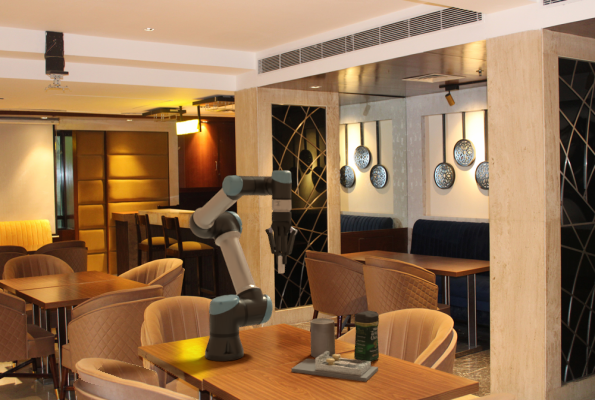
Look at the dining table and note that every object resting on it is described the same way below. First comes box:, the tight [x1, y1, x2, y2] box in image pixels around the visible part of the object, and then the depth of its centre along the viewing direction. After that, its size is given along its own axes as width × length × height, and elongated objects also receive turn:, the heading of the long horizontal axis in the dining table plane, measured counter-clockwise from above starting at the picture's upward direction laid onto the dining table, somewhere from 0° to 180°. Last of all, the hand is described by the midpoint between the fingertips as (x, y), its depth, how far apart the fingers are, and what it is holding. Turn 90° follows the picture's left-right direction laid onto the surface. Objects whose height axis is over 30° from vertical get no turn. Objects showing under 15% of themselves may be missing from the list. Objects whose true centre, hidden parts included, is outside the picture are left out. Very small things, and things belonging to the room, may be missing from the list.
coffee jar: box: [353, 310, 380, 362], centre depth 222 cm, size 10×8×19 cm
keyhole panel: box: [314, 351, 372, 376], centre depth 206 cm, size 17×11×4 cm, turn 66°
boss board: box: [291, 353, 379, 383], centre depth 207 cm, size 28×14×5 cm, turn 66°
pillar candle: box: [309, 317, 336, 358], centre depth 228 cm, size 10×10×15 cm
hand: (281, 272), depth 219 cm, fingers closed
